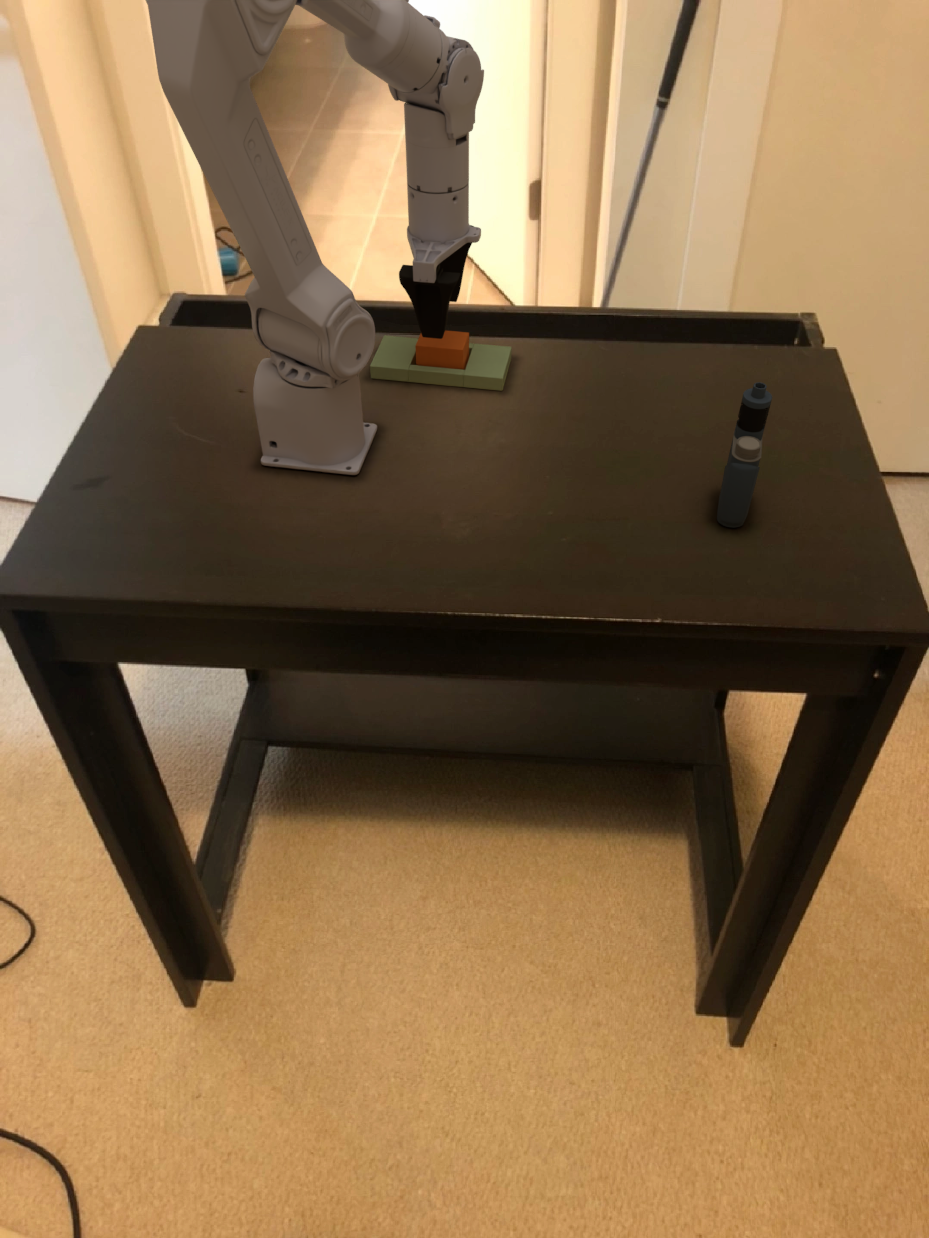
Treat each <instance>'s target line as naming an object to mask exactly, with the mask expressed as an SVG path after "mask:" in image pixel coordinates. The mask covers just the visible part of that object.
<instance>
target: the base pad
mask: <svg viewBox="0 0 929 1238" xmlns="http://www.w3.org/2000/svg"><path fill="white" fill-rule="evenodd" d="M418 338H419V337H405V336H398V335H397V336H395V335H385V334H384V335H383V337H382V339H381V341H380V343H379V345H378V347H377V350H376V352H375V354H374V356H373V358H372V361H371V362H370V364H369V372H370V373H369V374H370V379H373V380H375V379H376V380H386V381H395V382H404V383H405V382H407V383H415V384H427V385H438V386H445V387H446V386H448V387H458V388H470V389H479V390H490V391H499V392H502V391H504V387H505V383H506V380H507V376H508V372H509V369H510V365H511V361H512V352H513V351H512V349H513V347H512V346H508V345H507V346H506V345H497V344H495V345H494V344H484V343H472V342H469V360H468V363H467V366H466V369H465V370H461V369H451V368H440V367H429V366H419V365H416V343H417V341H418Z"/></svg>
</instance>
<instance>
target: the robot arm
mask: <svg viewBox="0 0 929 1238" xmlns="http://www.w3.org/2000/svg"><path fill="white" fill-rule="evenodd" d="M145 2H146V4H147V9H148V15H149V22H150V28H151V29H150V30H151V35H152V43H153V49H154V57H155V62H156V70H157V76H158V80H159V84H160V86H161V89H162V91H163V94H164V96H165V98H166V101H167V103H168V104H169V106H170V108H171V111H172V112H173V114H174V116H175V119H176V120H177V122H178V124H179V126H180V128H181V130H182V133H183V135H184V136H185V138H186V140H187V142H188V145H189V147H190V149H191V150H192V153H193V155H194V156H195V159H196V161H197V162H198V163H197V164H198V165H199V167H200V169H201V171H202V174H203V175H204V177H205V179H206V181H207V183H208V186H209V187H210V189H211V191H212V193H213V195H214V198H215V200H216V201H217V203H218V206H219V207H220V210H221V212H222V214H223V215H224V218H225V220H226V221H227V223H228V225H229V228H230V230H231V232H232V234H233V236H234V238H235V240H236V242H237V244H238V246H239V249H240V250H241V252H242V254H243V256H244V258H245V260H246V262H247V265H248V266H249V268H250V270H251V273H252V274H253V278H252V280H251V281H250V283H249V285H248V287H247V289H246V290H245V293H244V298H245V300H246V302H247V304H248V306H249V309H250V315H251V328H252V334H253V336H254V338H255V340H256V342H257V343H258V344H259V346H261V347H262V348H263V349H265V350H267V351H269V355H270V357H264V358H262V359H261V360H260V362H258V363H259V364H258V365H257V368H256V371H255V373H254V379H253V389H252V390H253V391H252V397H253V398H252V399H253V407H254V414H255V420H256V425H257V429H258V435H259V442H260V448H261V452H262V456H261V458H260V464H261V465H262V466H264V467H265V466H266V467H275V468H283V469H292V470H304V471H311V472H320V473H321V472H322V473H330V474H339V475H348V476H356V475H358V474H360V471H361V469H362V467H363V465H364V462H365V459H366V458H367V456H368V453H369V450H370V448H371V445H372V443H373V442H374V441H373V440H374V438H375V436H376V433H377V430H378V425H377V424H376V423H372V422H364V413H363V403H362V401H363V400H362V390H361V382H360V381H361V380H360V373H361V372H362V371H363V370H364V369H365V368H366V367H367V365H368V363H369V362H370V359H371V357H372V355H373V353H374V349H375V345H376V327H375V326H376V325H375V322H374V319H373V317H372V315H371V313H369V311H367V310H366V308H363V307H362V306H360V305H359V303H358V301H357V300H356V297H355V295H354V293H353V291H352V290H351V289H350V287H348V286H347V285H346V284H345V282H343V281H342V280H341V279H340V278H339V277H337V275H336V274H334V273H333V272H332V271H331V270H330V269H329V268H328V267H327V266H326V265H325V264H324V263H323V262H322V259H321V256H320V254H319V252H318V250H317V247H316V244H315V242H314V240H313V237H312V234H311V232H310V230H309V228H308V225H307V222H306V219H305V218H304V215H303V213H302V209H301V208H300V205H299V203H298V200H297V198H296V196H295V193H294V191H293V188H292V186H291V183H290V181H289V178H288V175H287V174H286V171H285V169H284V166H283V164H282V162H281V159H280V157H279V154H278V152H277V149H276V147H275V144H274V142H273V140H272V136H271V135H270V132H269V130H268V128H267V125H266V122H265V120H264V118H263V115H262V113H261V110H260V108H259V106H258V105H259V104H258V103H257V101H256V98H255V96H254V93H253V91H252V89H251V88H252V87H251V85H250V84H251V79H252V77H253V76H255V75H258V74H259V73H260V72H262V71H263V70H264V68H265V66H266V65H267V62H268V60H269V59H270V57H271V54H272V52H273V50H274V48H275V46H276V44H277V43H278V40H279V38H280V36H281V34H282V32H283V30H284V29H285V26H286V24H287V23H288V20H289V19H290V17H291V15H292V12H293V10H294V8H295V6H298V7H300V8H302V9H303V10H305V11H307V12H308V13H310V14H311V15H313V16H314V17H317V18H318V19H320V20H321V21H322V22H325V24H327V25H329V26H331V27H333V28H334V29H336V30H337V31H339V32H341V33H342V34H343V43H344V46H345V49H346V51H347V54H348V56H349V57H350V58H351V60H353V62H355V63H357V64H358V65H360V66H361V67H362V68H364V69H365V70H367V71H368V72H369V73H371V74H373V75H374V76H376V77H377V78H378V79H380V80H381V81H383V82H384V83H385V84H387V86H388V90H389V93H390V95H391V97H392V98H393V100H394V101H396V102H398V101H400V102H402V103H403V115H404V117H403V118H404V137H405V162H406V163H405V164H406V167H405V168H406V188H407V189H406V190H407V215H408V217H407V218H408V225H407V227H406V238H407V242H408V244H409V249H410V251H411V254H412V257H413V259H412V264H411V265H410V264H402V265H401V267H400V269H399V271H398V279H399V283H400V285H401V286H402V288H403V289H404V290H405V293H406V294H407V295H408V298H409V300H410V302H411V304H412V306H413V310H414V313H415V316H416V320H417V324H418V328H419V330H420V334H422V336H423V337H426V338H437V339H442V338H443V335H444V332H445V330H447V324H448V323H447V322H448V315H449V308H450V303H457V301H458V299H459V296H460V293H461V287H462V282H463V276H464V270H465V265H466V261H467V258H468V254H469V251H470V249H471V246H472V244H473V243H474V244H476V243H478V242H480V239H481V237H482V228H481V227H478V226H474V225H471V224H470V220H469V218H470V213H469V212H470V208H469V207H470V205H469V204H470V133H471V132H472V131H473V130H474V124H476V109H477V105H478V101H479V98H480V95H481V93H482V90H483V85H484V80H485V79H484V78H485V69H483V68H482V63H481V60H480V57H479V55H478V52H477V51H475V50H474V47H473V46H472V44H471V43H470V42H468V41H467V40H465V39H461V38H457V37H452V36H448V35H446V33H445V32H444V31H443V30H442V29H441V22H440V21H439V20H438V19H437V18H436V17H434V16H430V15H425V14H423V13H421V12H420V11H419V10H418V9H417V8H416V7H414V6H413V5H411V4H410V0H145Z"/></svg>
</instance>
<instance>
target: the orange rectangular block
mask: <svg viewBox="0 0 929 1238" xmlns="http://www.w3.org/2000/svg"><path fill="white" fill-rule="evenodd" d="M417 338H418V341H417V343H416V365H419V366H429V367H440V368H451V369H461V370H465V369H466V366H467V363H468V360H469V343H470V332H467V331H456V330H447V329H445V332H444V335H443V338H442V339H437V338H426V337H423V336H422V334H421V333H420V334H419V336H418V337H417Z"/></svg>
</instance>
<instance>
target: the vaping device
mask: <svg viewBox="0 0 929 1238" xmlns="http://www.w3.org/2000/svg"><path fill="white" fill-rule="evenodd" d="M767 388H768V385H767V384H766V383H764V382H761V381H758V382H757V381H756V382H755V383H753V385H752V387H751V388H747V389H746V390H744V391H743V393H742V397H741V402H740V406H739V410H738V414H737V420H736V423H735V427H734V430H733V434H732V435H733V436H732V440H731V445H730V449H729V453H728V458H727V462H726V465H725V466H724V470H723V476H722V482H721V487H720V488H721V489H720V492H719V497H718V504H717V514H716V521H717V522H718V523H719V524H720V525H721V526H724V527H726V528H730V529H731V528H732V529H733V528H739V527H742V526H744V524H745V522H746V520H747V517H748V514H749V510H750V507H751V502H752V500H753V495H754V492H755V488H756V484H757V480H758V477H759V471H760V466H759V465H760V463H761V459H762V454H763V453H762V451H763V436H764V432H765V428H766V424H767V420H768V416H769V412H770V408H771V404H772V401H773V395H772V393H770V391H768V390H767Z"/></svg>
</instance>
